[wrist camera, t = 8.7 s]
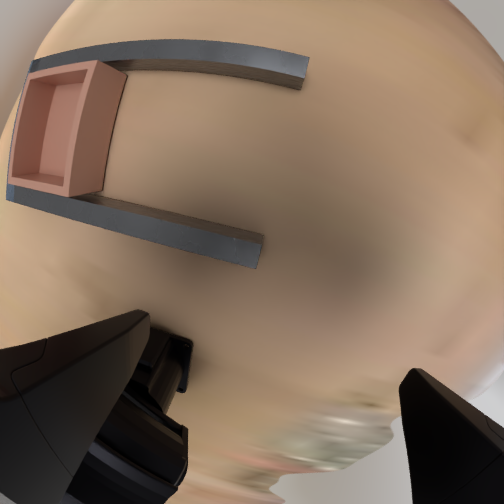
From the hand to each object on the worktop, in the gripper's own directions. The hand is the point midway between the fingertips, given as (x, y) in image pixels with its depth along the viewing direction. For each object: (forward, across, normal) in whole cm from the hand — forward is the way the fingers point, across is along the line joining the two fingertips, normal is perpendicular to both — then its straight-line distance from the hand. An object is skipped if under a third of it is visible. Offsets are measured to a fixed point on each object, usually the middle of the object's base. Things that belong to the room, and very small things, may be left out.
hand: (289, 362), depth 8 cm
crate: (+11, +18, -6) cm, 22 cm away
